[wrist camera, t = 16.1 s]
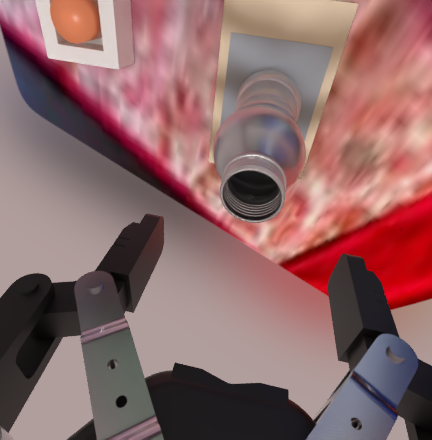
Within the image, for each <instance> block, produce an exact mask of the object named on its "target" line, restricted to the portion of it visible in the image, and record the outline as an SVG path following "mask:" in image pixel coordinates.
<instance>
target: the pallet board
mask: <svg viewBox="0 0 432 440" xmlns="http://www.w3.org/2000/svg"><path fill="white" fill-rule="evenodd" d="M357 7H358V4H355V3H348V2H341V1H333V0H224V10H223V20H222V30H221V40H220V50H219V61H218V71H217V81H216V91H215V101H214V111H213V121H212V131H211V141H210V151H209V161H208V162H211V163H214V157H213V142H214V139H215V136H216V133H217V132H218V130H219V128H220V126H221V125H222V124H223V122H224V121H225V120H226V119H227V118H228V117H229V116H230V115H231V114H233V113H234V112H235V111H236V98H237V94H238V91H239V89H240V87H241V85H242V84H243V82H244V81H245V80H246V79H247V78H248V77H250V76H251V75H252V74H254V73H256V72H259V71H263V70H276V71H280V72H282V73H284V74H286V75H287V76H288V77H290V78H291V79H292V80H293V81H294V82H295V84H296V86H297V87H298V89H299V92H300V95H301V110H300V114H299V117H298V120H297V122H296V123H297V125H298V127H299V129H300V131H301V133H302V136H303V139H304V142H305V148H306V159H305V164H304V167H303V170H302V172H301V173H300V175H299V177H298V179H301V177H302V174H303V171H304V168H305V165H306V162H307V159H308V156H309V153H310V150H311V147H312V144H313V141H314V138H315V134H316V131H317V128H318V125H319V122H320V119H321V116H322V113H323V110H324V107H325V104H326V101H327V98H328V95H329V92H330V89H331V86H332V83H333V80H334V77H335V74H336V71H337V68H338V65H339V62H340V59H341V56H342V53H343V49H344V46H345V43H346V40H347V37H348V34H349V31H350V28H351V25H352V22H353V19H354V16H355V13H356V10H357Z"/></svg>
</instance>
